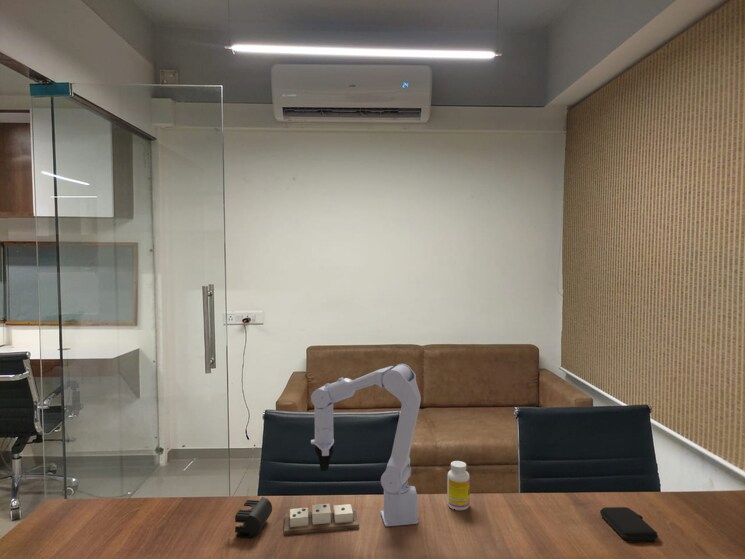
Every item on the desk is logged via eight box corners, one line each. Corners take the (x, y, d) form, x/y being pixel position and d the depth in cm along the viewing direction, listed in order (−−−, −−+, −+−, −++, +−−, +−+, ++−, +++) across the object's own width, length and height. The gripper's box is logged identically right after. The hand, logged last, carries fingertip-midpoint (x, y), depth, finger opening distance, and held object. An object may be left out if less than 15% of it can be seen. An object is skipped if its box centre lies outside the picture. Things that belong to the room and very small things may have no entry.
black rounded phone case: (665, 544, 123) (633, 514, 138) (665, 533, 123) (633, 504, 138) (625, 545, 123) (597, 515, 137) (625, 534, 123) (597, 505, 137)
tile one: (350, 514, 137) (350, 503, 136) (352, 523, 132) (352, 512, 132) (333, 515, 136) (333, 504, 136) (335, 525, 131) (334, 513, 131)
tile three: (307, 517, 135) (307, 506, 135) (308, 527, 130) (308, 516, 130) (290, 519, 134) (290, 508, 134) (289, 529, 129) (289, 517, 129)
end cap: (260, 541, 125) (259, 516, 124) (234, 539, 125) (234, 514, 125) (272, 520, 134) (272, 497, 134) (249, 518, 135) (248, 495, 135)
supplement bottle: (471, 511, 139) (472, 468, 139) (449, 511, 139) (449, 468, 138) (466, 499, 146) (467, 459, 145) (445, 500, 146) (445, 459, 145)
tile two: (329, 513, 136) (329, 502, 136) (330, 523, 131) (330, 511, 131) (312, 515, 135) (312, 504, 135) (312, 524, 130) (312, 513, 130)
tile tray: (355, 512, 139) (355, 508, 139) (358, 528, 130) (358, 524, 130) (285, 518, 136) (285, 513, 136) (284, 535, 127) (284, 531, 127)
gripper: (310, 418, 150) (310, 460, 150) (311, 435, 135) (311, 481, 136) (332, 417, 151) (332, 459, 151) (335, 433, 136) (336, 479, 137)
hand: (324, 469), depth 144 cm, fingers closed
